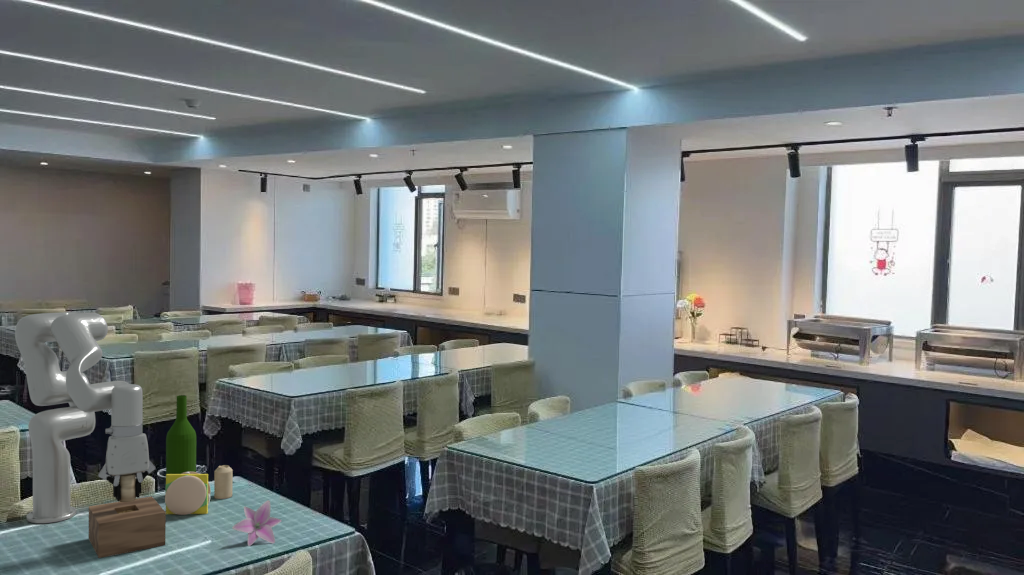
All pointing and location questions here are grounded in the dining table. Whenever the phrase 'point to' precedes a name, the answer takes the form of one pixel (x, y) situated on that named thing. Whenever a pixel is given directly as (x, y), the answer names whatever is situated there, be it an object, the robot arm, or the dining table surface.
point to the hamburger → (187, 493)
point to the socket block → (126, 526)
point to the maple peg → (128, 487)
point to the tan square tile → (125, 511)
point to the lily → (258, 524)
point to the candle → (223, 482)
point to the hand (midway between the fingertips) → (127, 497)
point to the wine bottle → (181, 442)
